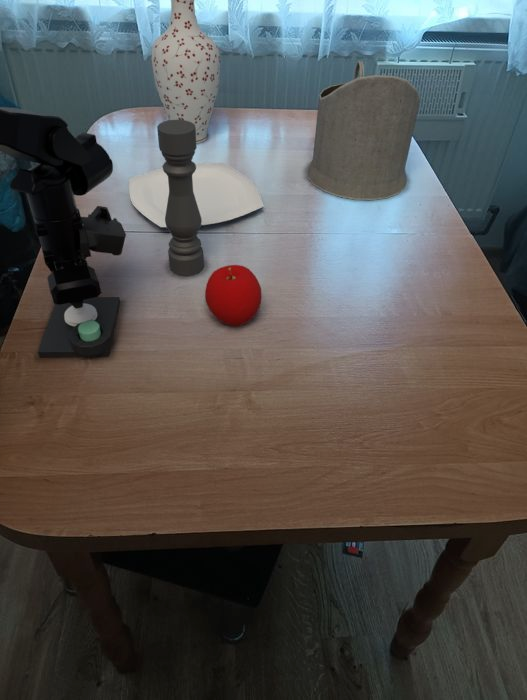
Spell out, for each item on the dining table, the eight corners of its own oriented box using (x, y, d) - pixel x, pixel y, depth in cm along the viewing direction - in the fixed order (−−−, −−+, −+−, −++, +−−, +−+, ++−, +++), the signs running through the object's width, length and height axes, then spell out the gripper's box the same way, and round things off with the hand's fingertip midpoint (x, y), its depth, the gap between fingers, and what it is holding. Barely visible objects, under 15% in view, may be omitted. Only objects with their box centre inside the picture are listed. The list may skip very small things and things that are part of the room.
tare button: (99, 341, 78) (97, 333, 77) (78, 341, 78) (76, 334, 77) (102, 328, 81) (100, 320, 80) (82, 328, 80) (80, 320, 79)
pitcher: (310, 198, 118) (323, 75, 101) (302, 140, 141) (311, 31, 124) (415, 201, 118) (446, 80, 101) (390, 143, 141) (412, 35, 124)
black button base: (110, 361, 79) (107, 346, 77) (38, 362, 79) (32, 347, 77) (123, 302, 89) (120, 287, 87) (58, 302, 89) (54, 287, 87)
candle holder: (196, 253, 101) (188, 116, 83) (209, 271, 97) (203, 131, 79) (164, 261, 98) (149, 122, 81) (176, 279, 94) (163, 137, 77)
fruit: (198, 305, 89) (195, 254, 83) (248, 293, 92) (249, 243, 86) (217, 340, 83) (216, 288, 77) (270, 326, 86) (273, 275, 79)
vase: (221, 126, 146) (219, -31, 122) (221, 151, 134) (218, -18, 110) (161, 124, 145) (146, -34, 121) (155, 150, 133) (138, -20, 109)
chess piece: (103, 310, 85) (92, 257, 78) (86, 330, 82) (73, 276, 75) (76, 303, 86) (63, 250, 79) (58, 322, 83) (42, 268, 76)
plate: (228, 164, 129) (228, 156, 127) (279, 218, 111) (280, 209, 110) (116, 183, 120) (115, 174, 118) (152, 244, 102) (151, 235, 101)
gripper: (131, 235, 68) (145, 328, 78) (102, 172, 80) (117, 260, 91) (38, 251, 64) (66, 347, 75) (23, 183, 77) (48, 274, 87)
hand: (77, 303), depth 82 cm, fingers closed on chess piece
